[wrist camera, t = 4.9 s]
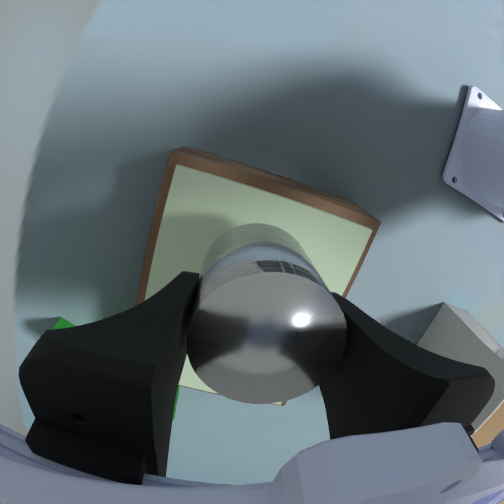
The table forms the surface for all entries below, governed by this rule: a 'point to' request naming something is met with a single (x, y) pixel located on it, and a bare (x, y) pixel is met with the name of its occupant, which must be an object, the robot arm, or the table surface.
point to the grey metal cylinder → (263, 318)
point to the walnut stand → (246, 212)
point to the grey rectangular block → (467, 350)
